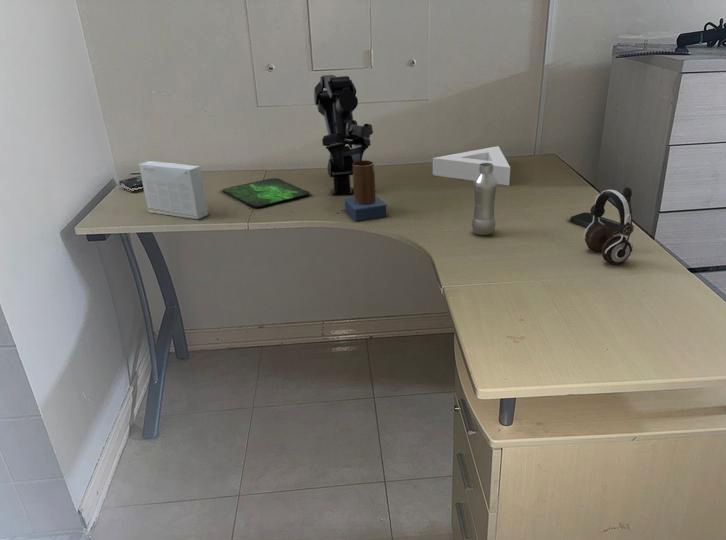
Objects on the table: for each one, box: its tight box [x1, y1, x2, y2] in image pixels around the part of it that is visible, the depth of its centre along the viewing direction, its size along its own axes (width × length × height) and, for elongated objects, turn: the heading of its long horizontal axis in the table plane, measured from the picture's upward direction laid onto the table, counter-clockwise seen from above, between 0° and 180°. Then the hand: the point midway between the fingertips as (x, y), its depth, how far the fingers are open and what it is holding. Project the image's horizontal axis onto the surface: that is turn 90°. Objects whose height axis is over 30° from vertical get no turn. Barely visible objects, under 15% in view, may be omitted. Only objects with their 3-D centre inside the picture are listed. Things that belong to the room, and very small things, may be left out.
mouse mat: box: [221, 177, 311, 208], centre depth 224 cm, size 27×22×1 cm
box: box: [343, 194, 388, 222], centre depth 202 cm, size 11×10×4 cm
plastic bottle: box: [471, 163, 498, 236], centre depth 180 cm, size 6×7×20 cm
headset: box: [583, 186, 635, 265], centre depth 163 cm, size 17×8×20 cm, turn 13°
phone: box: [569, 211, 620, 235], centre depth 188 cm, size 8×1×15 cm
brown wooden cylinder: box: [352, 159, 376, 205], centre depth 198 cm, size 7×7×12 cm
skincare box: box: [138, 160, 209, 220], centre depth 204 cm, size 21×6×16 cm, turn 65°
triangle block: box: [432, 145, 511, 186], centre depth 235 cm, size 30×26×6 cm
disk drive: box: [118, 175, 144, 193], centre depth 235 cm, size 10×3×15 cm
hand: (350, 169), depth 203 cm, fingers open, 9 cm apart
